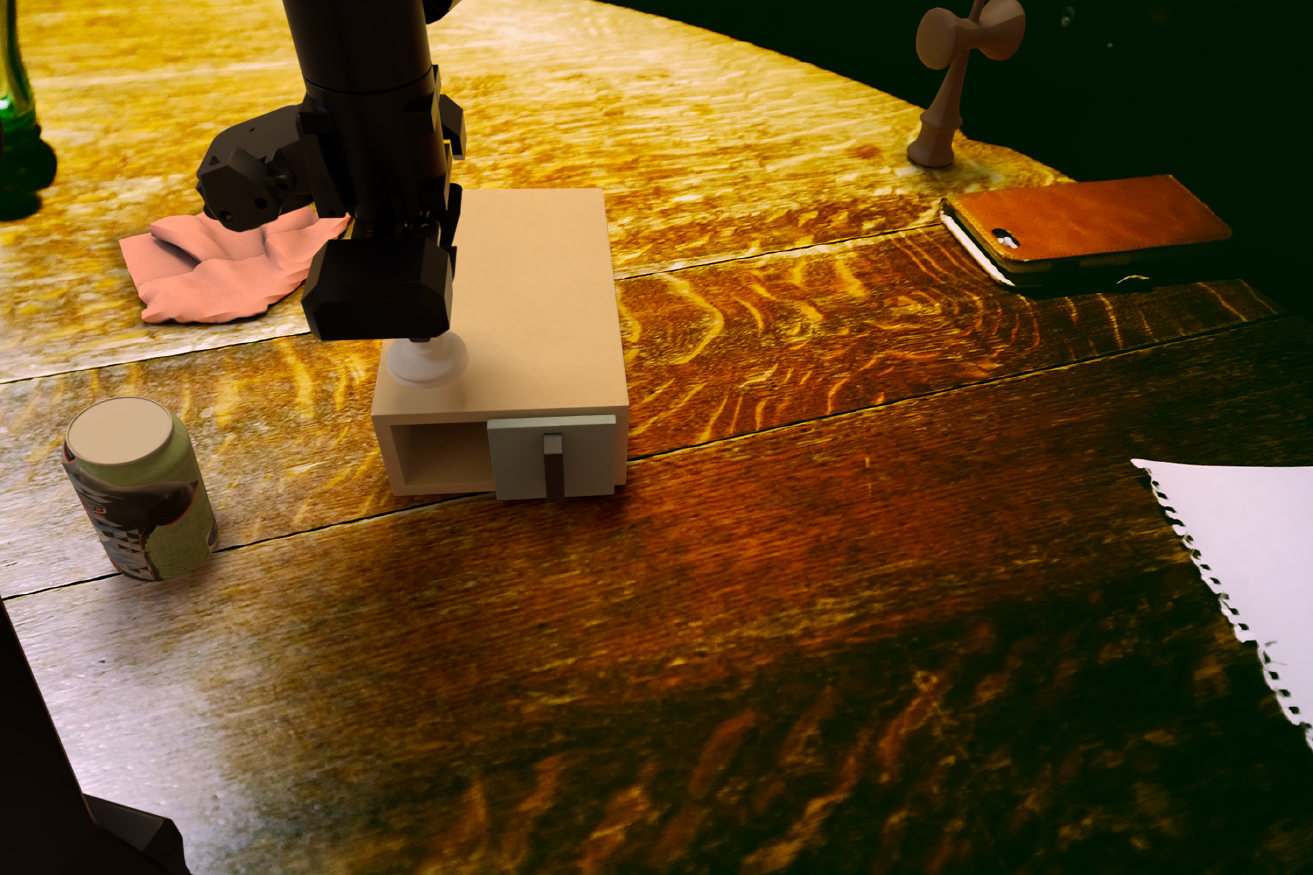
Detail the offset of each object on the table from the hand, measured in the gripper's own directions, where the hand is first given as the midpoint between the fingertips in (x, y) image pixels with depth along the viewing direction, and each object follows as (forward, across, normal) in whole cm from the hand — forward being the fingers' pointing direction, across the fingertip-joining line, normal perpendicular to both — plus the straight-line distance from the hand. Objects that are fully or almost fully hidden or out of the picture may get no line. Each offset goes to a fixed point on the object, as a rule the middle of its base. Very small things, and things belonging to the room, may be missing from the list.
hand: (422, 328), depth 49 cm
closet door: (+12, +4, +7) cm, 15 cm away
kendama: (+14, -42, +50) cm, 67 cm away
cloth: (+13, -28, -20) cm, 36 cm away
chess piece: (+3, 0, 0) cm, 3 cm away
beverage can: (+13, +6, -16) cm, 22 cm away
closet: (+13, -10, +4) cm, 17 cm away
